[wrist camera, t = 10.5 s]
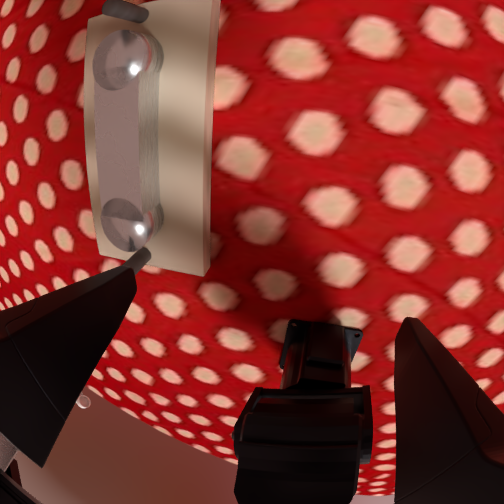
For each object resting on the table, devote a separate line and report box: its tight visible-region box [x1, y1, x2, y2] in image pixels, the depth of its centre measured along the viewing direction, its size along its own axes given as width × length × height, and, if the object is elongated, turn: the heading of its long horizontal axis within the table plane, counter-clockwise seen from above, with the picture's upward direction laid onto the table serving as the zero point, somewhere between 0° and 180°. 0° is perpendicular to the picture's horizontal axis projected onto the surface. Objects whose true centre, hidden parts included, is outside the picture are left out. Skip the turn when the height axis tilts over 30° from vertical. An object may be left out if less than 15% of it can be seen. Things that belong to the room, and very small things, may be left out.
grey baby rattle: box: [92, 30, 164, 252], centre depth 17 cm, size 15×4×2 cm, turn 176°
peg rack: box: [84, 0, 221, 277], centre depth 18 cm, size 20×10×5 cm, turn 176°
